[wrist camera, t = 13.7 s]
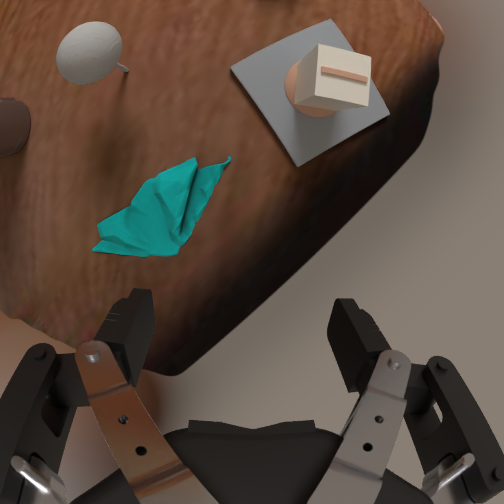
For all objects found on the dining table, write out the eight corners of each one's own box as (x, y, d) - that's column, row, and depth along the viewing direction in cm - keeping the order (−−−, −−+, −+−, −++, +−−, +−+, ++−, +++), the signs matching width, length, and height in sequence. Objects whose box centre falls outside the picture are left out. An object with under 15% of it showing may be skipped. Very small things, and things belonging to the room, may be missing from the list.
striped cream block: (294, 104, 32) (315, 94, 23) (297, 64, 30) (319, 43, 21) (335, 111, 33) (369, 106, 23) (338, 72, 31) (372, 56, 21)
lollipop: (105, 52, 28) (47, 26, 14) (152, 43, 29) (109, 4, 15) (103, 97, 31) (40, 89, 17) (150, 89, 31) (102, 70, 18)
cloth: (107, 277, 43) (102, 284, 41) (71, 203, 38) (63, 207, 35) (256, 228, 41) (258, 233, 39) (225, 135, 35) (224, 136, 33)
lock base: (230, 68, 31) (229, 57, 25) (328, 20, 28) (343, 5, 22) (296, 166, 37) (307, 173, 31) (386, 114, 34) (409, 113, 28)
